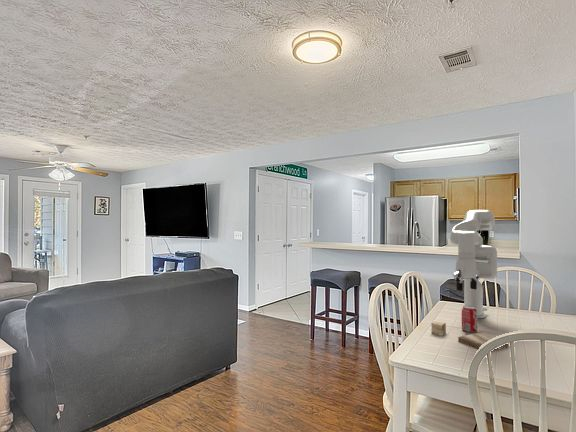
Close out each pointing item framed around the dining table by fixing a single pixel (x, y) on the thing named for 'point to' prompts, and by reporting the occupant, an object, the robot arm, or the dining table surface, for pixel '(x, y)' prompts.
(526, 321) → the dining table surface
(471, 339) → the walnut tray
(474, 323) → the soda can
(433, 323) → the oak block
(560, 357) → the dining table surface
